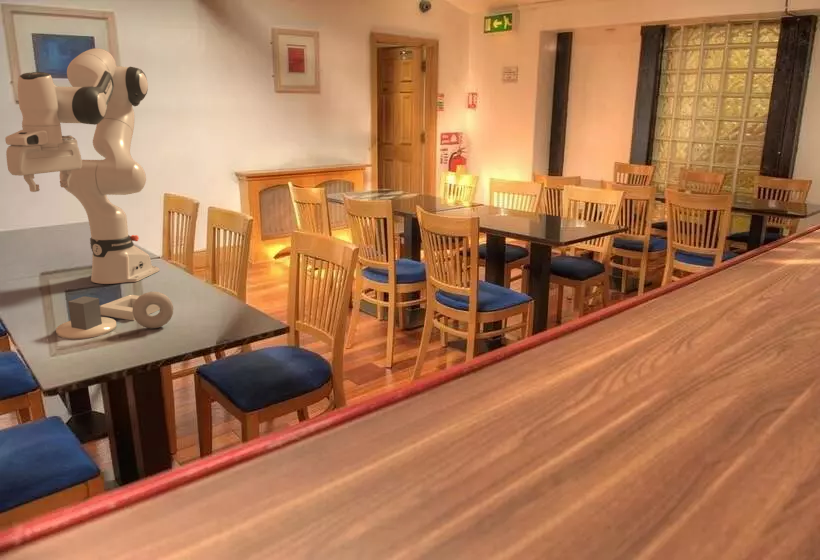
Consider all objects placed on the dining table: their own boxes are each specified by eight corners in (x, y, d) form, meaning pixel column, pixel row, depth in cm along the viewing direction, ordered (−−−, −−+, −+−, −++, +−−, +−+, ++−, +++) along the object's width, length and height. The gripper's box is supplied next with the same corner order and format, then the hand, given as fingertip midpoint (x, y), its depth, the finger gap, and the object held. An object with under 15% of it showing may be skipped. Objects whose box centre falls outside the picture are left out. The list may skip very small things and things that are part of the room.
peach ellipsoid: (88, 317, 174) (87, 314, 174) (128, 324, 169) (128, 320, 169) (43, 334, 161) (43, 330, 161) (85, 342, 157) (85, 338, 157)
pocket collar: (131, 302, 187) (130, 294, 187) (164, 307, 183) (163, 299, 183) (99, 314, 176) (98, 306, 176) (133, 320, 172) (132, 311, 172)
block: (87, 321, 168) (84, 296, 166) (101, 323, 167) (98, 298, 165) (71, 327, 164) (68, 301, 162) (86, 330, 162) (83, 303, 160)
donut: (134, 332, 164) (130, 295, 161) (134, 328, 167) (130, 291, 164) (175, 327, 168) (172, 291, 165) (174, 323, 171) (171, 288, 168)
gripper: (67, 134, 178) (73, 184, 182) (-2, 138, 159) (7, 193, 163) (84, 135, 176) (90, 185, 179) (17, 139, 157) (25, 194, 161)
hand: (50, 189), depth 171 cm, fingers open, 8 cm apart
